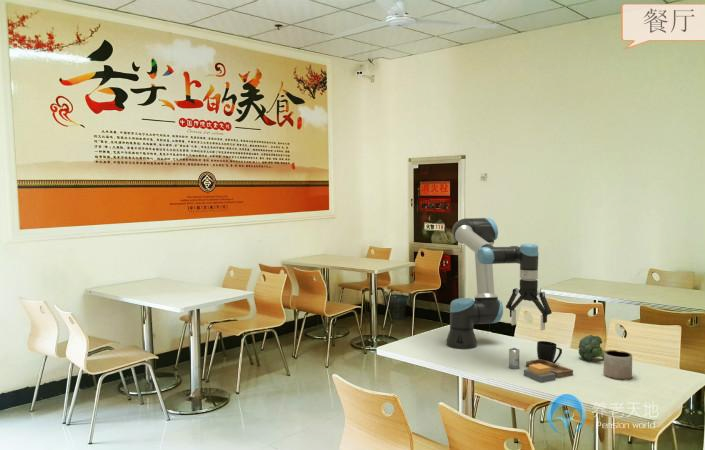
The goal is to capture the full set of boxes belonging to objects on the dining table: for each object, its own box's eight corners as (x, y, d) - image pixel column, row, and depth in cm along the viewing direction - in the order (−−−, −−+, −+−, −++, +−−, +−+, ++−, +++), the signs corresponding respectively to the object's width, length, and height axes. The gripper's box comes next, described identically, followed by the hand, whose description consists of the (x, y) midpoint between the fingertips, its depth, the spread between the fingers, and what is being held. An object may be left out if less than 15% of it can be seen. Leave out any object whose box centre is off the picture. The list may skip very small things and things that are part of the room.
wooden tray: (525, 366, 244) (526, 361, 244) (541, 363, 248) (541, 358, 248) (557, 378, 228) (557, 373, 228) (572, 375, 232) (573, 370, 232)
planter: (597, 373, 234) (598, 351, 234) (616, 370, 239) (616, 348, 238) (618, 381, 224) (619, 358, 224) (637, 378, 229) (638, 355, 228)
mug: (553, 369, 241) (554, 347, 240) (532, 362, 251) (533, 341, 251) (565, 368, 245) (567, 346, 244) (544, 360, 255) (546, 340, 255)
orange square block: (528, 372, 231) (528, 365, 230) (539, 370, 233) (539, 363, 233) (539, 376, 225) (539, 369, 225) (550, 374, 228) (550, 367, 228)
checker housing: (523, 375, 232) (523, 369, 232) (537, 372, 235) (537, 367, 235) (541, 382, 223) (541, 376, 223) (555, 379, 227) (555, 373, 226)
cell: (506, 366, 244) (507, 347, 243) (514, 365, 246) (514, 346, 245) (513, 369, 240) (514, 350, 239) (521, 368, 242) (521, 349, 241)
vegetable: (617, 361, 245) (587, 346, 246) (600, 374, 254) (570, 359, 254) (617, 340, 254) (587, 325, 254) (600, 353, 263) (572, 339, 263)
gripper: (498, 277, 246) (497, 324, 247) (552, 283, 229) (551, 333, 230) (506, 275, 252) (506, 321, 253) (560, 281, 234) (559, 330, 235)
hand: (527, 327), depth 241 cm, fingers open, 13 cm apart
